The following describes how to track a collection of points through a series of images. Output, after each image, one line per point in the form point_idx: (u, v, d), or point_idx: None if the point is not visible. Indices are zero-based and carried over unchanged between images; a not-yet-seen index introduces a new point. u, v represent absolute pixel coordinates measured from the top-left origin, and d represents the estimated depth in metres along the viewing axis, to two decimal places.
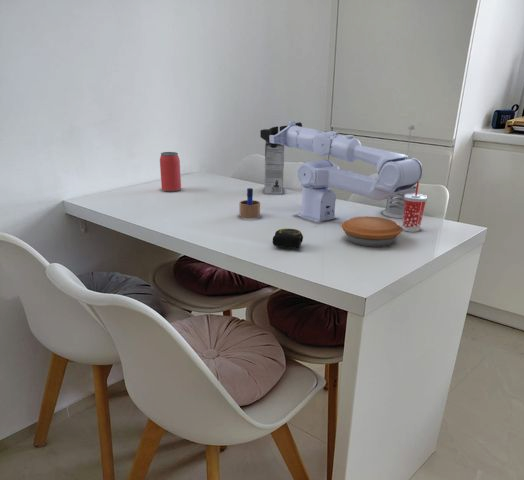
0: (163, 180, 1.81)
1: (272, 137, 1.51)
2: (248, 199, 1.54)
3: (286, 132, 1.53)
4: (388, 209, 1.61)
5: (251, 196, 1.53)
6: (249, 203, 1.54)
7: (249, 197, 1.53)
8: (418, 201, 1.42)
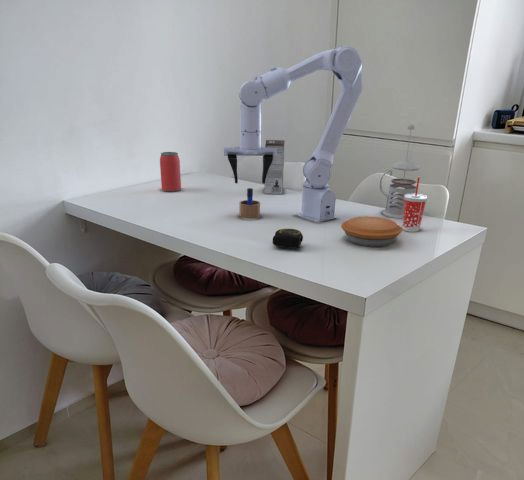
0: (163, 180, 1.81)
1: (276, 151, 1.48)
2: (248, 199, 1.54)
3: (259, 148, 1.47)
4: (388, 209, 1.61)
5: (251, 196, 1.53)
6: (249, 203, 1.54)
7: (249, 197, 1.53)
8: (418, 201, 1.42)
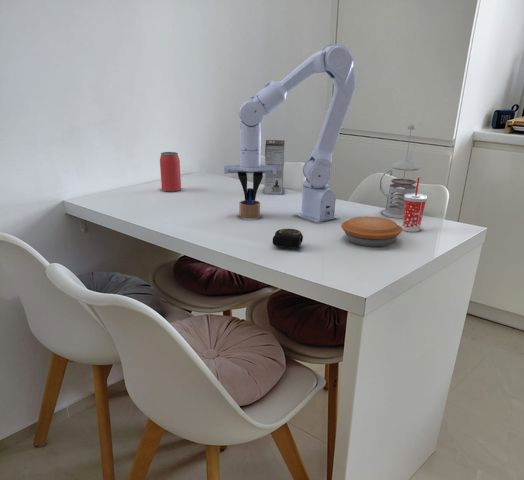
0: (163, 180, 1.81)
1: None
2: (248, 199, 1.54)
3: (259, 166, 1.49)
4: (388, 209, 1.61)
5: (251, 196, 1.53)
6: (249, 203, 1.54)
7: (250, 197, 1.53)
8: (418, 201, 1.42)
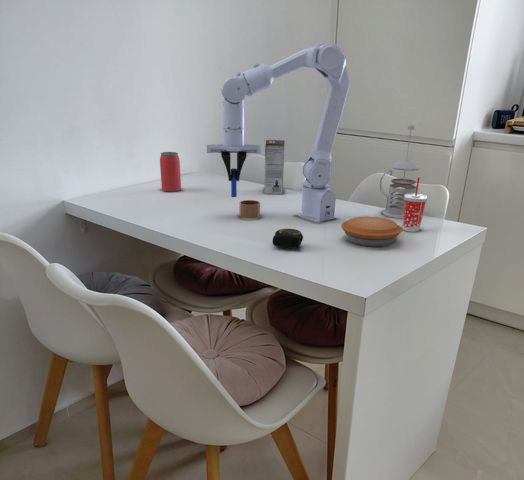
0: (163, 180, 1.81)
1: (260, 148, 1.47)
2: (232, 180, 1.50)
3: (243, 145, 1.45)
4: (388, 209, 1.61)
5: (235, 176, 1.50)
6: (233, 184, 1.51)
7: (233, 177, 1.50)
8: (418, 201, 1.42)
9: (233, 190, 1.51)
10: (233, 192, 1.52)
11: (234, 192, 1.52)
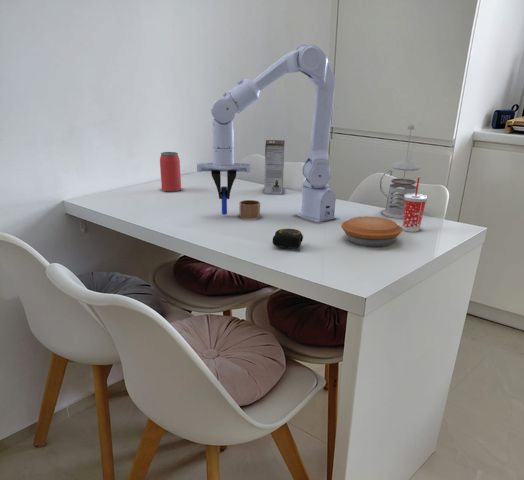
0: (163, 180, 1.81)
1: None
2: (222, 197, 1.52)
3: (233, 164, 1.47)
4: (388, 209, 1.61)
5: (225, 194, 1.52)
6: (223, 201, 1.52)
7: (224, 195, 1.51)
8: (418, 201, 1.42)
9: (223, 208, 1.53)
10: (223, 210, 1.54)
11: (224, 210, 1.54)
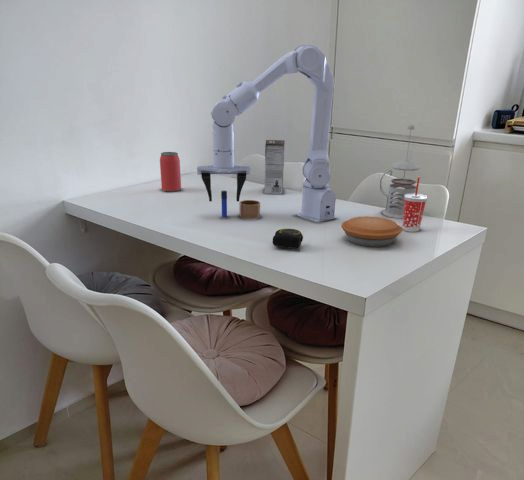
0: (163, 180, 1.81)
1: None
2: (222, 201, 1.53)
3: (233, 167, 1.47)
4: (388, 209, 1.61)
5: (225, 198, 1.52)
6: (223, 206, 1.53)
7: (224, 199, 1.52)
8: (418, 201, 1.42)
9: (223, 212, 1.54)
10: (223, 214, 1.54)
11: (224, 214, 1.54)
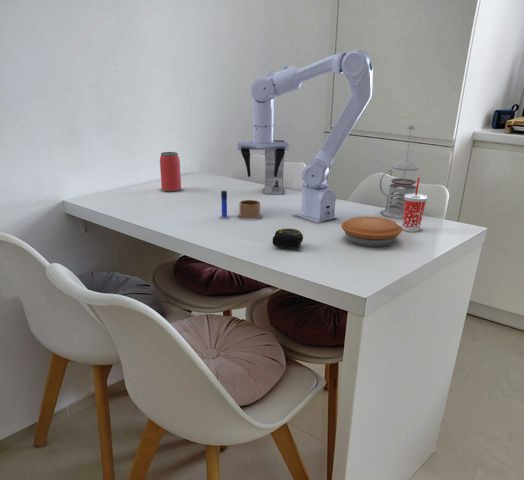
0: (163, 180, 1.81)
1: (288, 145, 1.53)
2: (222, 201, 1.53)
3: (272, 143, 1.51)
4: (388, 209, 1.61)
5: (225, 198, 1.52)
6: (223, 206, 1.53)
7: (224, 199, 1.52)
8: (418, 201, 1.42)
9: (223, 212, 1.54)
10: (223, 214, 1.54)
11: (224, 214, 1.54)
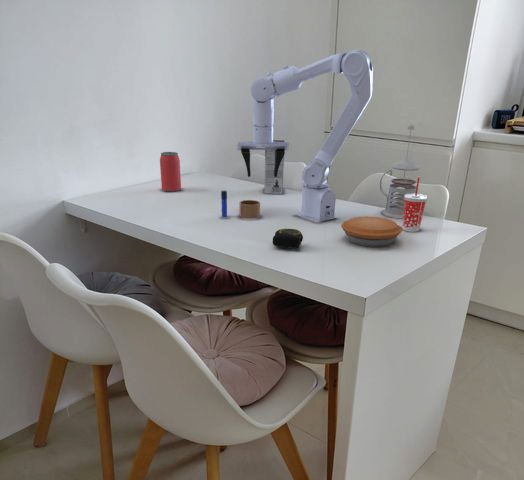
0: (163, 180, 1.81)
1: (288, 145, 1.53)
2: (222, 201, 1.53)
3: (272, 142, 1.52)
4: (388, 209, 1.61)
5: (225, 198, 1.52)
6: (223, 206, 1.53)
7: (224, 199, 1.52)
8: (418, 201, 1.42)
9: (223, 212, 1.54)
10: (223, 214, 1.54)
11: (224, 214, 1.54)
